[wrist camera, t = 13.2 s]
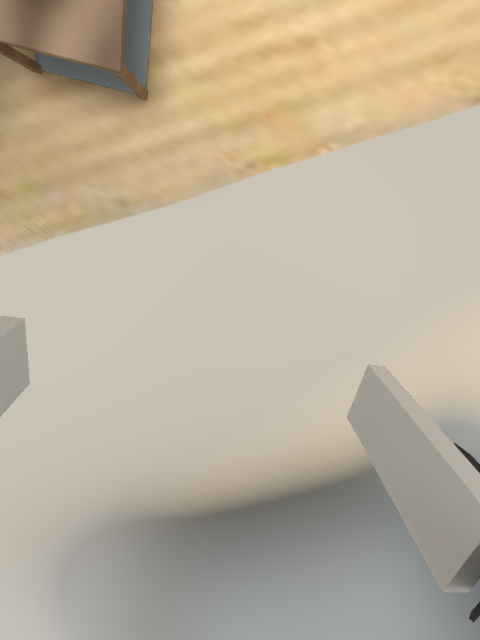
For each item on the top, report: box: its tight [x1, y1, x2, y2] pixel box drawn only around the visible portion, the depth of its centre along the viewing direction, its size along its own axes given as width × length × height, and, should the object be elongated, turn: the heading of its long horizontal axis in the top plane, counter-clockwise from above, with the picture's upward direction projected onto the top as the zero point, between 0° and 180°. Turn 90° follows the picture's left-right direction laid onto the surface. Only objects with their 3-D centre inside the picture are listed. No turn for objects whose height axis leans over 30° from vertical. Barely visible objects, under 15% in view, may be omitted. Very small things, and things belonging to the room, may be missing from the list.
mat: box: [36, 0, 153, 94], centre depth 36 cm, size 12×12×1 cm
